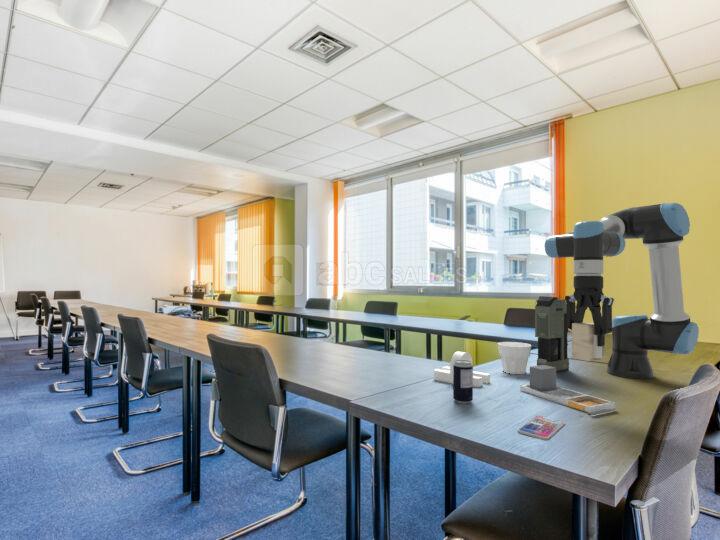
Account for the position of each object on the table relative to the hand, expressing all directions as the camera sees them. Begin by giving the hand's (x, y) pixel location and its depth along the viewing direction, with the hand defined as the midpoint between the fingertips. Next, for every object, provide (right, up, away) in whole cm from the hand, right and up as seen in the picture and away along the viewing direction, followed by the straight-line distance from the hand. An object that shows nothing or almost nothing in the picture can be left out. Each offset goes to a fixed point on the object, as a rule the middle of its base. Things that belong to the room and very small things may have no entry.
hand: (588, 355), depth 117 cm
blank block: (-7, -15, +14) cm, 21 cm away
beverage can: (-35, -15, +5) cm, 38 cm away
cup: (-5, -16, +44) cm, 47 cm away
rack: (-3, -15, +7) cm, 17 cm away
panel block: (0, -1, 0) cm, 1 cm away
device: (+11, -16, +46) cm, 50 cm away
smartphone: (-20, -15, -16) cm, 30 cm away
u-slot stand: (-29, -16, +29) cm, 44 cm away
